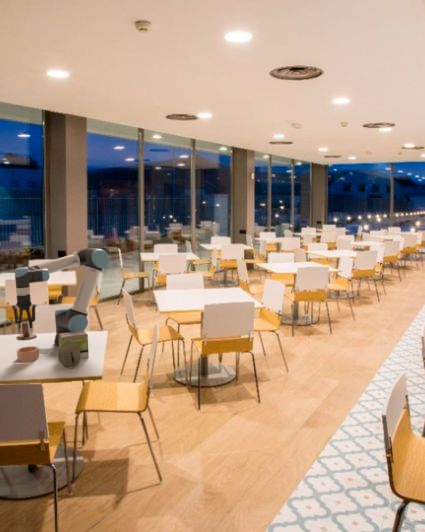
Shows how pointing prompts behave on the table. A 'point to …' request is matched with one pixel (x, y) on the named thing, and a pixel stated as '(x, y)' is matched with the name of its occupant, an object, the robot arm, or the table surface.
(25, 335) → the lid
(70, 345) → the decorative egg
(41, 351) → the mat
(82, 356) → the tea box
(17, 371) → the table surface
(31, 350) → the bowl
